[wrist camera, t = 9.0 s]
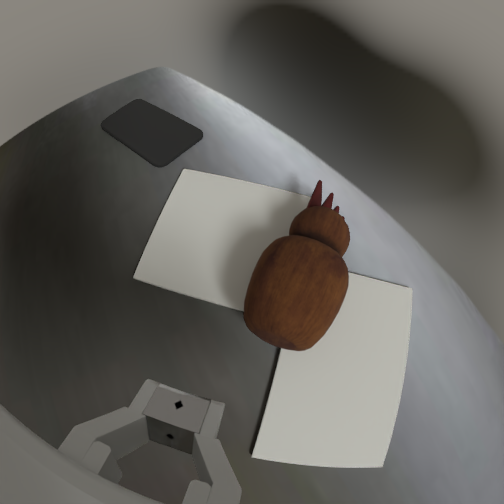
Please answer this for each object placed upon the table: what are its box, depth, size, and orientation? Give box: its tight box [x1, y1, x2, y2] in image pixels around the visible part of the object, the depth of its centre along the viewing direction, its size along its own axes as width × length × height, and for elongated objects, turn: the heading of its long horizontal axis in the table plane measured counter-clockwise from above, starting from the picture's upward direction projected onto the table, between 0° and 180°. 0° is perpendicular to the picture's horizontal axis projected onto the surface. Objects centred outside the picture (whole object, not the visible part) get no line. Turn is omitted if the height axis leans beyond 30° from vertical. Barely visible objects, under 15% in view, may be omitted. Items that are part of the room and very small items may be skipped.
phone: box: [101, 99, 203, 167], centre depth 31 cm, size 7×1×15 cm
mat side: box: [133, 169, 311, 311], centre depth 25 cm, size 14×12×1 cm
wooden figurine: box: [244, 180, 350, 351], centre depth 21 cm, size 7×6×15 cm
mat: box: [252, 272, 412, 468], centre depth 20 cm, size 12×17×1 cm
